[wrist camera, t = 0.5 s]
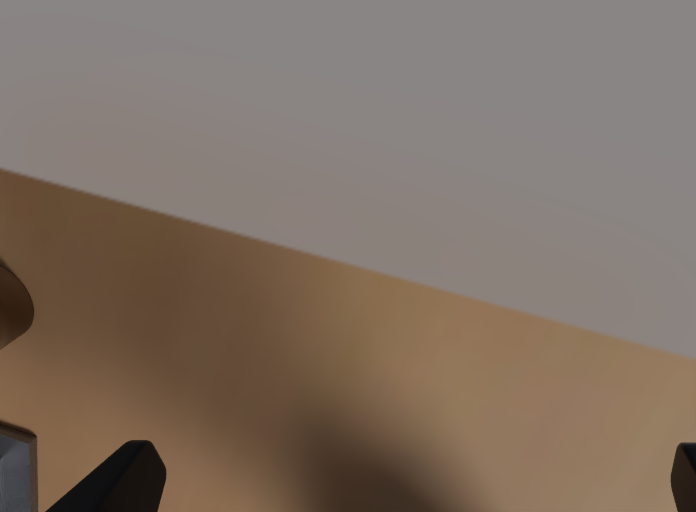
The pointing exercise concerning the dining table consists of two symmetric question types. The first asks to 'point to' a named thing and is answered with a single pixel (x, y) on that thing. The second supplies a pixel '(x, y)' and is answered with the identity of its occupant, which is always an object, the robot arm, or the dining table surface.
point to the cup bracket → (18, 471)
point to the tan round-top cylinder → (13, 308)
